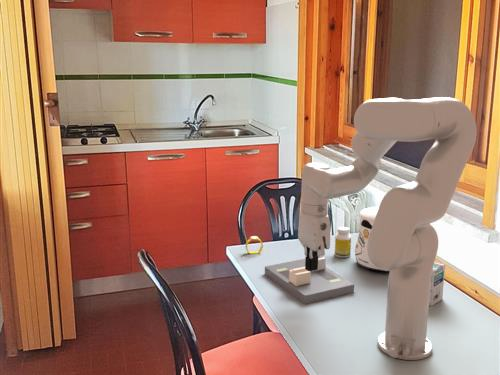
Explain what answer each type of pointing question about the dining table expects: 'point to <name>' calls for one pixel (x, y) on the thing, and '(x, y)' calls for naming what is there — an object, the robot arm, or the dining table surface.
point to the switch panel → (319, 288)
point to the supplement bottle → (343, 242)
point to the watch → (254, 239)
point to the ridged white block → (321, 263)
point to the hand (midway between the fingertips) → (311, 269)
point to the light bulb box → (436, 283)
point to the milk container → (365, 237)
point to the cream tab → (299, 276)
